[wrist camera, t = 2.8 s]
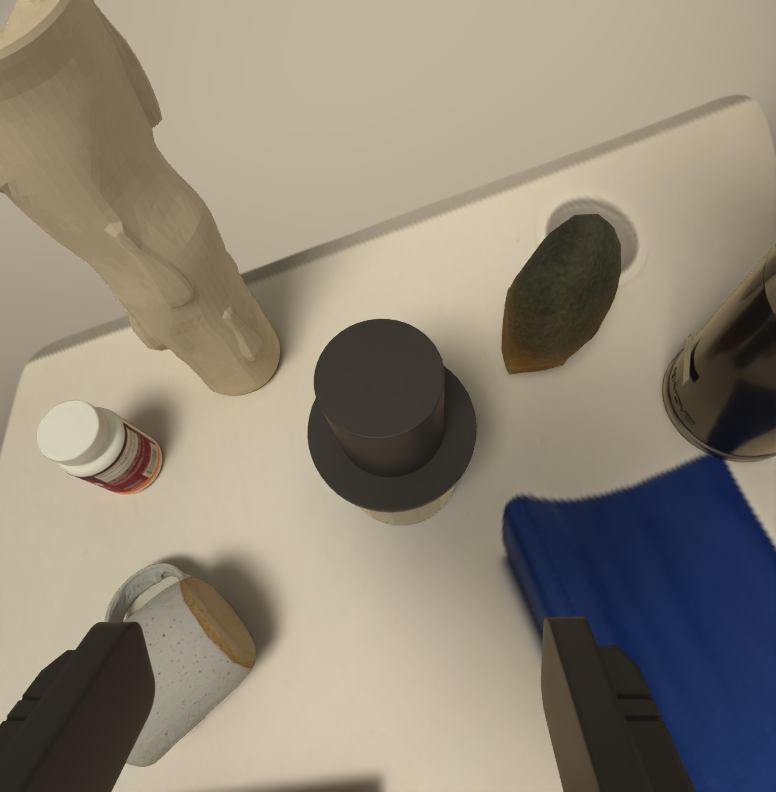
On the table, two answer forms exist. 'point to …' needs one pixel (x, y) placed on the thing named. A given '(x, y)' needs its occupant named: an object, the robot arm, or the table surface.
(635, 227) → the table surface
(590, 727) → the robot arm
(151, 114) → the vase
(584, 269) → the decorative stone
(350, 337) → the flanged dark cylinder
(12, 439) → the table surface
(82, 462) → the pill bottle
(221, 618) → the ceramic mug
